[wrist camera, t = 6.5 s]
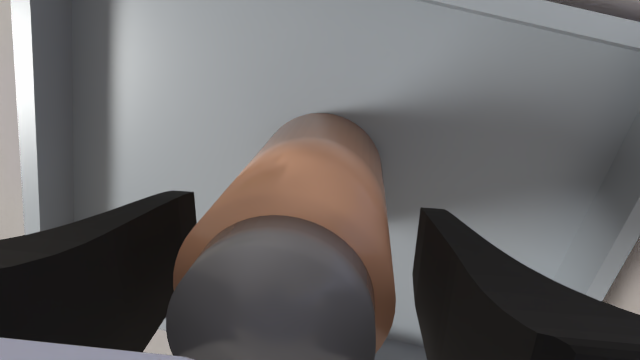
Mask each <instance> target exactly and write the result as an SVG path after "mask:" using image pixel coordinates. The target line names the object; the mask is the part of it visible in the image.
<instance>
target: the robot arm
mask: <svg viewBox="0 0 640 360" xmlns="http://www.w3.org/2000/svg"><path fill="white" fill-rule="evenodd" d="M196 224H197V220H196V209H195V198H194V192H189V191H174V190H172V191H166V192H162V193H159V194H155V195H152V196H149V197H146V198H143V199H141V200H138V201H135V202H132V203H129V204H126V205H124V206H121V207H118V208H115V209H112V210H110V211H107V212H104V213H101V214H98V215H94V216H91V217H88V218H85V219H82V220H79V221H76V222H73V223H70V224H66V225H63V226H59V227H56V228H52V229H48V230H44V231H40V232H36V233H32V234H28V235H23V236H19V237H14V238H8V239H3V240H0V360H194V359H191V358H188V357H182V356H173V355H163V354H153V353H144V352H143V351H144V349H145V348H146V346H147V345H148V343H149V342H150V340H151V339H152V337H153V336H154V334H155V333H156V331H157V330H158V328H159V327H160V325H161V324H162V322H163V321H164V319H165V318H166V315H167V309H168V305H169V302H170V299H171V296H172V294H173V292H174V289H173V272H174V267H175V261H176V258H177V255H178V252H179V249H180V247H181V245H182V244H183V242H184V240H185V238H186V237H187V235H188V234H189V233H190V231H191V230H192V229H193V227H194V226H195V225H196ZM412 277H413V290H414V301H415V308H416V313H417V318H418V322H419V327H420V331H421V335H422V340H423V344H424V349H425V353H426V357H427V360H640V315H638V314H635V313H632V312H629V311H626V310H623V309H620V308H618V307H615V306H612V305H610V304H607V303H604V302H602V301H599V300H597V299H594V298H592V297H590V296H587V295H585V294H583V293H580V292H578V291H576V290H573V289H571V288H569V287H566V286H564V285H562V284H560V283H558V282H556V281H554V280H552V279H550V278H548V277H546V276H544V275H542V274H540V273H538V272H537V271H535V270H533V269H531V268H529V267H527V266H526V265H524V264H522V263H520V262H519V261H517V260H515V259H514V258H512V257H511V256H509V255H508V254H506V253H505V252H503V251H502V250H500V249H498V248H497V247H496V246H494V245H493V244H491V243H490V242H488V241H487V240H486V239H484V238H483V237H482V236H480V235H479V234H478V233H476V232H475V231H474V230H472V229H471V228H470V227H468V226H467V225H466V224H465V223H463V222H462V221H461V220H459V219H458V218H457V217H455V216H454V215H453V214H451V213H450V212H449V211H447V210H445V209H436V208H422V207H421V208H420V216H419V224H418V232H417V240H416V248H415V256H414V264H413V272H412Z"/></svg>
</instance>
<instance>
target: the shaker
mask: <svg viewBox="0 0 640 360" xmlns="http://www.w3.org/2000/svg"><path fill="white" fill-rule="evenodd" d="M173 289H174V292H173V294H172V296H171V299H170V302H169V305H168V309H167V315H166V331H167V339H168V342H169V346H170V349H171V352H172V354H173V356H182V357H188V358H191V359H194V360H374V359H375V354H376V352H377V351H378V350H379V349H380V348H381V346H382V345H383V343H384V341H385V340H386V338H387V336H388V334H389V331H390V329H391V327H392V323H393V319H394V315H395V307H396V294H395V283H394V274H393V264H392V255H391V246H390V236H389V227H388V217H387V208H386V199H385V189H384V180H383V171H382V163H381V158H380V155H379V152H378V150H377V148H376V146H375V144H374V142H373V141H372V139H371V138H370V137H369V135H368V134H367V133H366V132H365V131H364V130H363V129H362V128H360V127H359V126H358V125H357V124H355V123H353V122H352V121H350V120H348V119H346V118H344V117H341V116H338V115H334V114H328V113H311V114H306V115H302V116H299V117H296V118H294V119H292V120H290V121H288V122H287V123H285V124H284V125H283V126H281V127H280V128H279V129H278V130H277V131H276V132H275V133H274V134H273V135H272V137H271V138H270V139H269V140H268V141H267V142H266V144H265V145H264V146H263V147H262V148H261V149H260V151H259V152H258V153H257V154H256V155H255V156H254V158H253V159H252V160H251V161H250V162H249V163H248V164H247V166H246V167H245V168H244V169H243V170H242V171H241V173H240V174H239V175H238V176H237V177H236V178H235V180H234V181H233V182H232V183H231V184H230V185H229V187H228V188H227V189H226V190H225V191H224V192H223V194H222V195H221V196H220V197H219V198H218V199H217V201H216V202H215V203H214V204H213V205H212V206H211V208H210V209H209V210H208V211H207V212H206V213H205V215H204V216H203V217H202V218H201V219H200V220H199V222H198V223H197V224H196V225H195V226H194V227H193V229H192V230H191V231H190V233H189V234H188V235H187V237H186V238H185V240H184V242H183V244H182V245H181V247H180V249H179V252H178V255H177V258H176V261H175V267H174V272H173Z"/></svg>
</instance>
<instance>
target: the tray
mask: <svg viewBox="0 0 640 360" xmlns="http://www.w3.org/2000/svg"><path fill="white" fill-rule="evenodd" d="M11 15H12V32H13V48H14V65H15V81H16V98H17V114H18V131H19V148H20V164H21V181H22V197H23V214H24V230H25V235H28V234H32V233H36V232H40V231H44V230H48V229H52V228H56V227H59V226H63V225H66V224H70V223H73V222H76V221H79V220H82V219H85V218H88V217H91V216H94V215H98V214H101V213H104V212H107V211H110V210H112V209H115V208H118V207H121V206H124V205H126V204H129V203H132V202H135V201H138V200H141V199H143V198H146V197H149V196H152V195H155V194H159V193H162V192H166V191H172V190H174V191H189V192H194V198H195V209H196V220H197V223H198V222H199V220H200V219H201V218H202V217H203V216H204V215H205V213H206V212H207V211H208V210H209V209H210V208H211V206H212V205H213V204H214V203H215V202H216V201H217V199H218V198H219V197H220V196H221V195H222V194H223V192H224V191H225V190H226V189H227V188H228V187H229V185H230V184H231V183H232V182H233V181H234V180H235V178H236V177H237V176H238V175H239V174H240V173H241V171H242V170H243V169H244V168H245V167H246V166H247V164H248V163H249V162H250V161H251V160H252V159H253V158H254V156H255V155H256V154H257V153H258V152H259V151H260V149H261V148H262V147H263V146H264V145H265V144H266V142H267V141H268V140H269V139H270V138H271V137H272V135H273V134H274V133H275V132H276V131H277V130H278V129H279V128H280V127H281V126H283V125H284V124H285V123H287V122H288V121H290V120H292V119H294V118H296V117H299V116H302V115H306V114H311V113H328V114H334V115H338V116H341V117H344V118H346V119H348V120H350V121H352V122H353V123H355V124H357V125H358V126H359V127H360V128H362V129H363V130H364V131H365V132H366V133H367V134H368V135H369V137H370V138H371V139H372V141H373V142H374V144H375V146H376V148H377V150H378V152H379V155H380V158H381V163H382V171H383V180H384V189H385V199H386V208H387V217H388V227H389V236H390V246H391V255H392V264H393V274H394V283H395V294H396V307H395V315H394V319H393V323H392V327H391V329H390V331H389V334H388V336H387V338H386V340H385V341H384V343H383V345H382V346H381V348H380V349H379V350H378V351H377V352H376V354H375V359H374V360H427V357H426V353H425V349H424V344H423V340H422V335H421V331H420V327H419V322H418V318H417V313H416V308H415V301H414V290H413V277H412V272H413V264H414V256H415V248H416V240H417V232H418V224H419V216H420V208H421V207H422V208H436V209H445V210H447V211H449V212H450V213H451V214H453V215H454V216H455V217H457V218H458V219H459V220H461V221H462V222H463V223H465V224H466V225H467V226H468V227H470V228H471V229H472V230H474V231H475V232H476V233H478V234H479V235H480V236H482V237H483V238H484V239H486V240H487V241H488V242H490V243H491V244H493V245H494V246H496V247H497V248H498V249H500V250H502V251H503V252H505V253H506V254H508V255H509V256H511V257H512V258H514V259H515V260H517V261H519V262H520V263H522V264H524V265H526V266H527V267H529V268H531V269H533V270H535V271H537V272H538V273H540V274H542V275H544V276H546V277H548V278H550V279H552V280H554V281H556V282H558V283H560V284H562V285H564V286H566V287H569V288H571V289H573V290H576V291H578V292H580V293H583V294H585V295H587V296H590V297H592V298H594V299H597V300H599V301H603V299H604V297H605V295H606V294H607V292H608V290H609V288H610V287H611V285H612V283H613V282H614V280H615V278H616V276H617V275H618V273H619V271H620V269H621V268H622V266H623V264H624V262H625V261H626V259H627V257H628V256H629V254H630V252H631V250H632V249H633V247H634V245H635V243H636V242H637V240H638V238H639V236H640V22H637V21H633V20H628V19H624V18H620V17H615V16H611V15H607V14H602V13H598V12H594V11H589V10H585V9H581V8H576V7H572V6H567V5H563V4H559V3H554V2H550V1H546V0H11ZM158 329H161V330H165V331H166V318H165V319H164V321H163V322H162V324H161V325H160V327H159V328H158Z"/></svg>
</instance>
